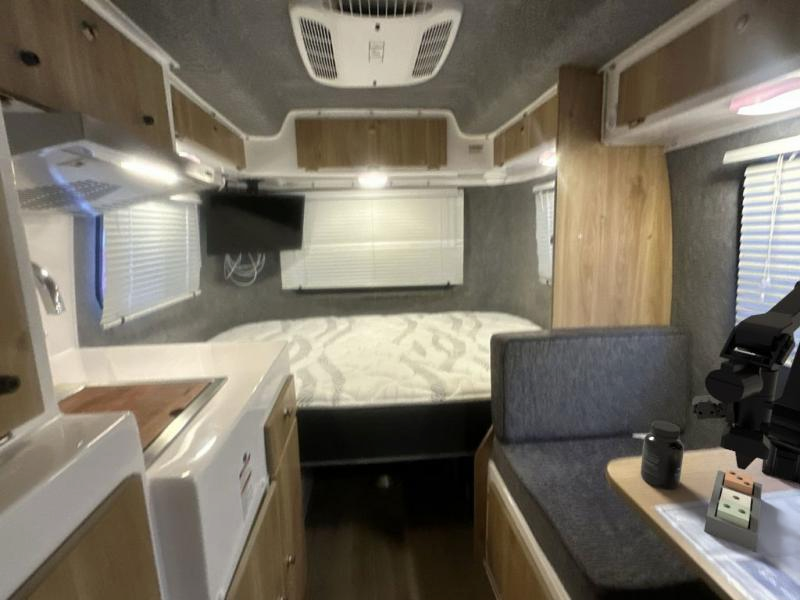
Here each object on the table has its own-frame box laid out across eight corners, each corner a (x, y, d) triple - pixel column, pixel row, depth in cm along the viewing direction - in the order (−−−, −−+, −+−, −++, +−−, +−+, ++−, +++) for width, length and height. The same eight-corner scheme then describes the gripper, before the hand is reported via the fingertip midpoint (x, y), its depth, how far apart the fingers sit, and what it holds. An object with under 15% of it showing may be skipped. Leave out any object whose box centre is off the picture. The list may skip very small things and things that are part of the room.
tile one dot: (721, 499, 76) (723, 487, 75) (749, 509, 73) (751, 496, 72) (718, 510, 73) (720, 497, 72) (747, 521, 70) (750, 508, 70)
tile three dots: (725, 480, 79) (726, 468, 79) (751, 489, 77) (753, 477, 76) (722, 490, 76) (724, 478, 76) (750, 500, 74) (752, 487, 73)
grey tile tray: (716, 483, 81) (718, 470, 81) (759, 498, 77) (762, 484, 76) (704, 531, 69) (706, 515, 69) (755, 551, 65) (757, 535, 64)
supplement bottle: (686, 492, 79) (693, 436, 77) (647, 488, 80) (653, 433, 78) (670, 471, 85) (676, 419, 83) (635, 468, 87) (640, 416, 84)
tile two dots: (718, 510, 71) (720, 497, 71) (748, 521, 69) (750, 507, 68) (715, 522, 69) (717, 508, 68) (746, 534, 66) (748, 520, 65)
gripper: (705, 366, 85) (696, 434, 88) (690, 394, 71) (680, 473, 74) (777, 379, 77) (764, 453, 80) (775, 414, 64) (760, 501, 67)
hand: (741, 468), depth 76 cm, fingers closed
